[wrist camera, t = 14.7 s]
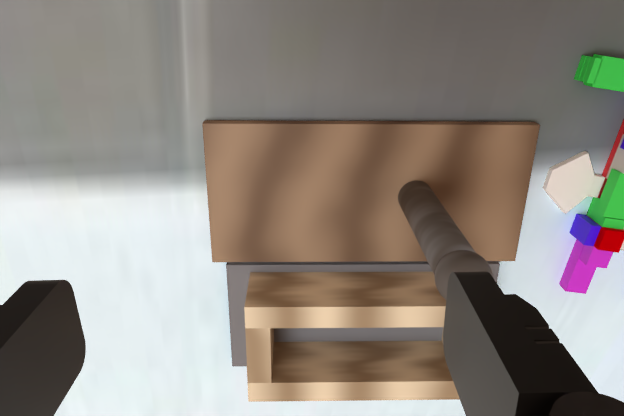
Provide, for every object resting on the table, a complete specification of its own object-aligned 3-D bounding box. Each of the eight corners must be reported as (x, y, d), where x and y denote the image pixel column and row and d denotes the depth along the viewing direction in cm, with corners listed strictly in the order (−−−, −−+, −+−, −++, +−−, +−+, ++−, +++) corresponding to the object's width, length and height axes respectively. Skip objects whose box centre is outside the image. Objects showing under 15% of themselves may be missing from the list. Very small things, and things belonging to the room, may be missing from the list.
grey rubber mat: (496, 260, 42) (499, 264, 41) (480, 359, 45) (482, 363, 45) (227, 261, 41) (226, 265, 40) (233, 361, 45) (232, 366, 44)
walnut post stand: (533, 121, 37) (667, 191, 24) (509, 255, 41) (611, 377, 28) (204, 120, 37) (151, 191, 23) (214, 256, 41) (174, 382, 27)
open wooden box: (472, 271, 41) (494, 306, 37) (459, 357, 45) (478, 399, 40) (250, 272, 41) (244, 307, 36) (253, 359, 44) (248, 401, 39)
